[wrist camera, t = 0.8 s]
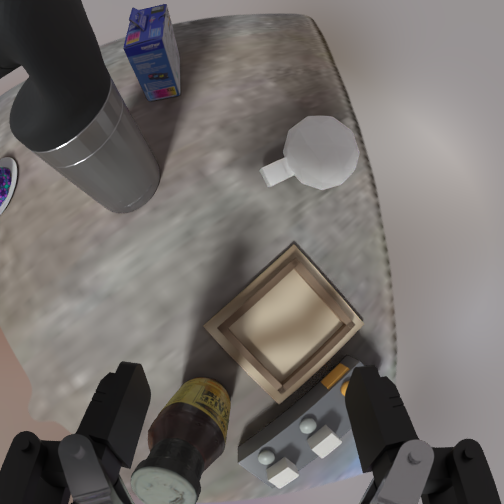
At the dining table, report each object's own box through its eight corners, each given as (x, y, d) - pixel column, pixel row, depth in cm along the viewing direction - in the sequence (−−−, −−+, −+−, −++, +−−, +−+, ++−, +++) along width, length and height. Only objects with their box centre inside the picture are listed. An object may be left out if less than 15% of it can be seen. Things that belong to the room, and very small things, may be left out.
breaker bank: (236, 445, 29) (235, 472, 23) (345, 353, 32) (367, 363, 26) (269, 472, 29) (274, 499, 23) (373, 384, 31) (397, 398, 25)
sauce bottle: (238, 413, 30) (239, 524, 11) (190, 425, 30) (147, 531, 10) (219, 365, 31) (194, 449, 12) (170, 378, 31) (97, 460, 11)
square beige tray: (203, 325, 32) (201, 326, 30) (293, 245, 34) (296, 242, 32) (278, 402, 31) (280, 407, 29) (362, 323, 33) (368, 324, 31)
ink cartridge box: (148, 63, 38) (127, 0, 24) (180, 56, 38) (167, -10, 24) (145, 103, 36) (116, 35, 22) (180, 96, 37) (162, 22, 22)
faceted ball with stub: (324, 116, 35) (245, 151, 35) (350, 95, 26) (250, 135, 26) (352, 173, 37) (276, 210, 37) (385, 167, 28) (290, 214, 28)
